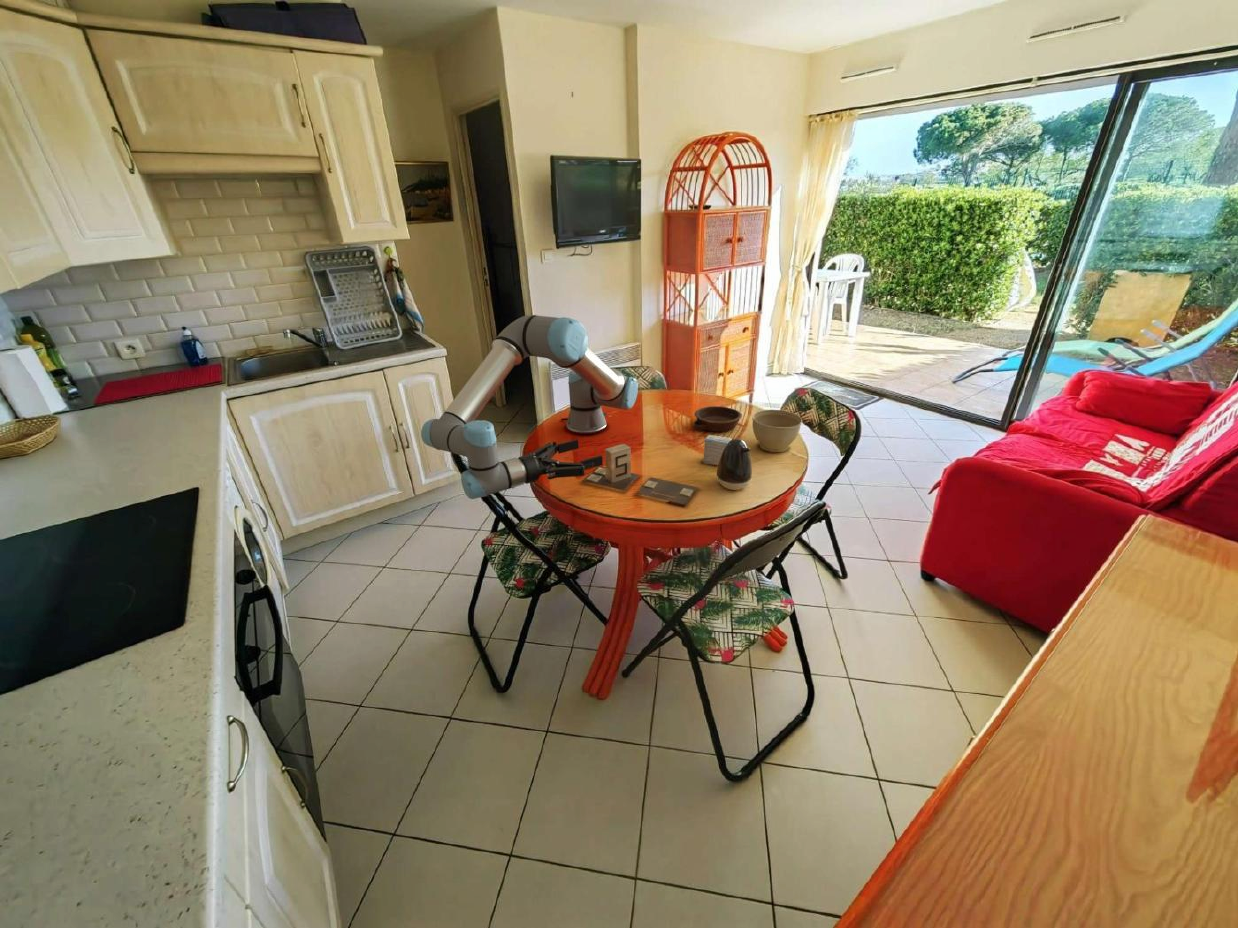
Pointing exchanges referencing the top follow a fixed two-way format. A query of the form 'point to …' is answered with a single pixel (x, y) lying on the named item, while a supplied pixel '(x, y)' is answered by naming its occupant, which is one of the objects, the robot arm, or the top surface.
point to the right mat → (668, 491)
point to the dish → (716, 418)
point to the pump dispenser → (735, 465)
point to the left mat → (600, 479)
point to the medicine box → (714, 448)
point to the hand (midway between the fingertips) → (589, 451)
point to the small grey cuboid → (618, 462)
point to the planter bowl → (775, 429)
